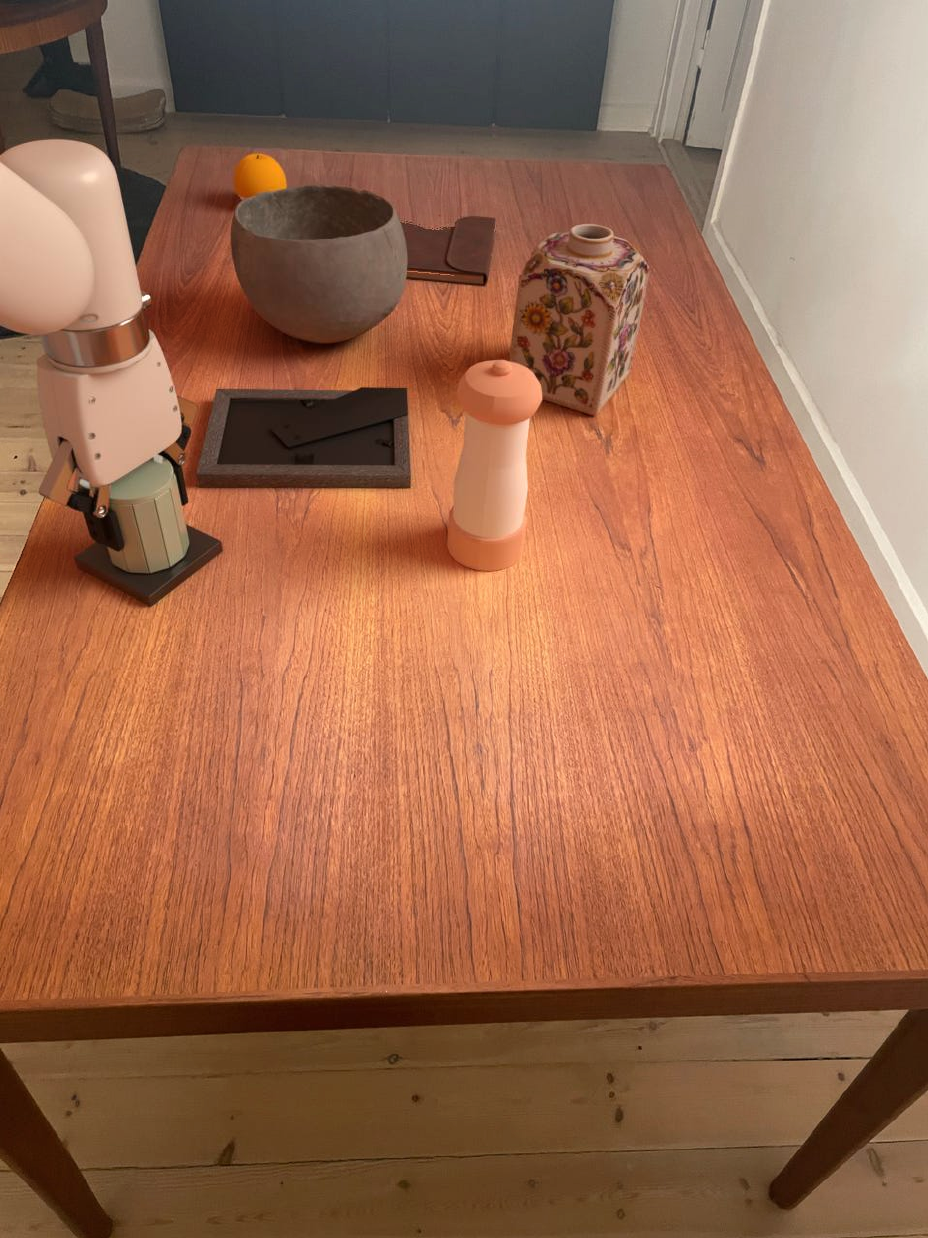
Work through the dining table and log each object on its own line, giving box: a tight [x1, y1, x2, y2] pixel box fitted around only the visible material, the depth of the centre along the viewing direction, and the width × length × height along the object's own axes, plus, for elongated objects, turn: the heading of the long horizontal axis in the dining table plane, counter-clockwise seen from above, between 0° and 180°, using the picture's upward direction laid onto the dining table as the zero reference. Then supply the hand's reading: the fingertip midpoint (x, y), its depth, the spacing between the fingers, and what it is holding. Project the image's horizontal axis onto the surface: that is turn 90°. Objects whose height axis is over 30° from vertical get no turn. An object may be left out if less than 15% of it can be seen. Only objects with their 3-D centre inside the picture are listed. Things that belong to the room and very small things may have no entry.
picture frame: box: [196, 386, 412, 489], centre depth 96 cm, size 16×2×21 cm
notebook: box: [400, 215, 498, 287], centre depth 132 cm, size 15×20×2 cm
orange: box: [232, 153, 288, 198], centre depth 139 cm, size 8×8×8 cm
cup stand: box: [73, 523, 224, 608], centre depth 79 cm, size 9×9×8 cm
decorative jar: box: [508, 223, 651, 417], centre depth 102 cm, size 12×12×18 cm
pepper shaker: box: [446, 359, 543, 572], centre depth 79 cm, size 7×7×19 cm
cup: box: [89, 454, 189, 573], centre depth 79 cm, size 7×10×8 cm
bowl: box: [230, 184, 408, 344], centre depth 109 cm, size 20×20×15 cm
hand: (141, 519), depth 79 cm, fingers closed on cup, 6 cm apart
